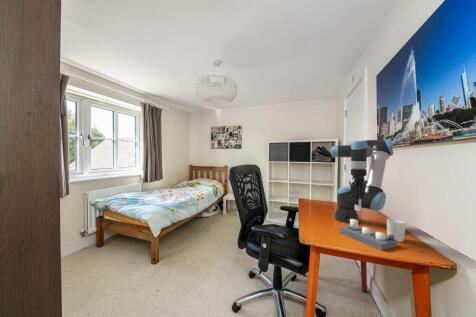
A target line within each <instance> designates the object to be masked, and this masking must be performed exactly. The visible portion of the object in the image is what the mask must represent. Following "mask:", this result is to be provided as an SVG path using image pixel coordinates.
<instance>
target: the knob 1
mask: <svg viewBox="0 0 476 317" xmlns="http://www.w3.org/2000/svg"><path fill="white" fill-rule="evenodd" d="M349 226H350V229H352V230H358V227H359V223H358V220H356V219H350V223H349Z"/></svg>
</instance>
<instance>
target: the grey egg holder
mask: <svg viewBox="0 0 476 317" xmlns="http://www.w3.org/2000/svg"><path fill="white" fill-rule="evenodd" d="M339 233H340V234H342V235H344V236H346V237H349V238H352V239H354V240H356V241H358V242H360V243H363V244H366V245H367V246H370V247H372V248H375V249H376V250H379V251H385V250H388V249H391V248H396V247H397V245H398V244H397V240H395V239H394V236H393V235H392V233H390V235H388V234H387V236H386V239H385V241H384V242H382V241H380V240H377V239H376V231H373V230H371V235H370V236H367V235H364V234H362V227H360V226H358V230H352V229H350V225H347V226H342V227H340V228H339Z"/></svg>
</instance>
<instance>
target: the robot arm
mask: <svg viewBox="0 0 476 317" xmlns="http://www.w3.org/2000/svg"><path fill="white" fill-rule="evenodd" d="M391 141H392V139H389V138H388V139H385V138H383V139H366V140H354V141H352V142H351V144H349V143H348V144H343V145H332V146H331V149H330V155H331V156H332V158H350V168H351V169H350V176H352V178H351V181H350V180H349V182H348V183H349V186H339V188H338V189H337V208H336V210H335V213H334V219H335V220H336V221H338V222H341V223H342V222H343V223H347V224H350V219H356V220H358V224H359V222H360V217H359V213H358V212H361V211H362V209H367V210H371V211H381V210H383V208H384V206H385V204H386V198H387V194H386V193H385V192H384V189H382V184H383V179H384V176H385V175H384V174H385V169H386V164H387V160H389V159H390V157H392V156H393V155H394V148H393V149H392V145H393V144H392V145H391ZM368 158H370V162H369V163H370V164H369V167H368V165H367V164H368ZM367 170H368V171H367ZM366 176H367V177H366ZM365 177H366V178H365Z"/></svg>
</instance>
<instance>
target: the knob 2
mask: <svg viewBox="0 0 476 317" xmlns="http://www.w3.org/2000/svg"><path fill="white" fill-rule="evenodd" d="M375 233H376V239H377V240H380V241H382V242H384V241H385V239H386V237H387V236H386V233H385V232H382V231H375Z"/></svg>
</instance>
